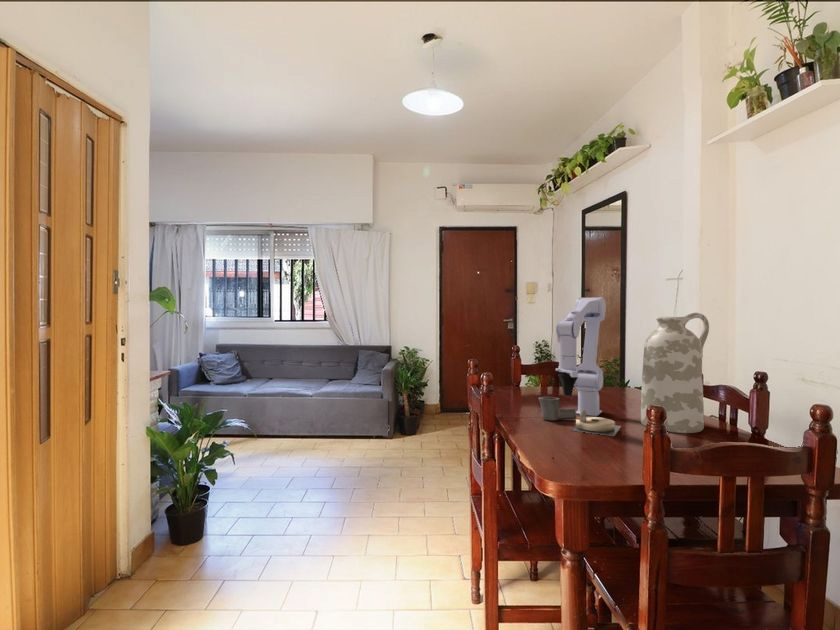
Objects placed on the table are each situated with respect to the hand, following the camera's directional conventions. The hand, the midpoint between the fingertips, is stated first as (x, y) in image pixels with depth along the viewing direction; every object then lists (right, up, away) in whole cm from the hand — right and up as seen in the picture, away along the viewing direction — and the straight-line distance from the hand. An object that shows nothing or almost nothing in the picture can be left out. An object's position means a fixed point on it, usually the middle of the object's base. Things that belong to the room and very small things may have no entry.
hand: (567, 395), depth 160 cm
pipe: (-2, -10, +7) cm, 12 cm away
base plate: (+7, -10, -6) cm, 14 cm away
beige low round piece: (+7, -10, -6) cm, 14 cm away
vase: (+34, -10, -4) cm, 36 cm away
